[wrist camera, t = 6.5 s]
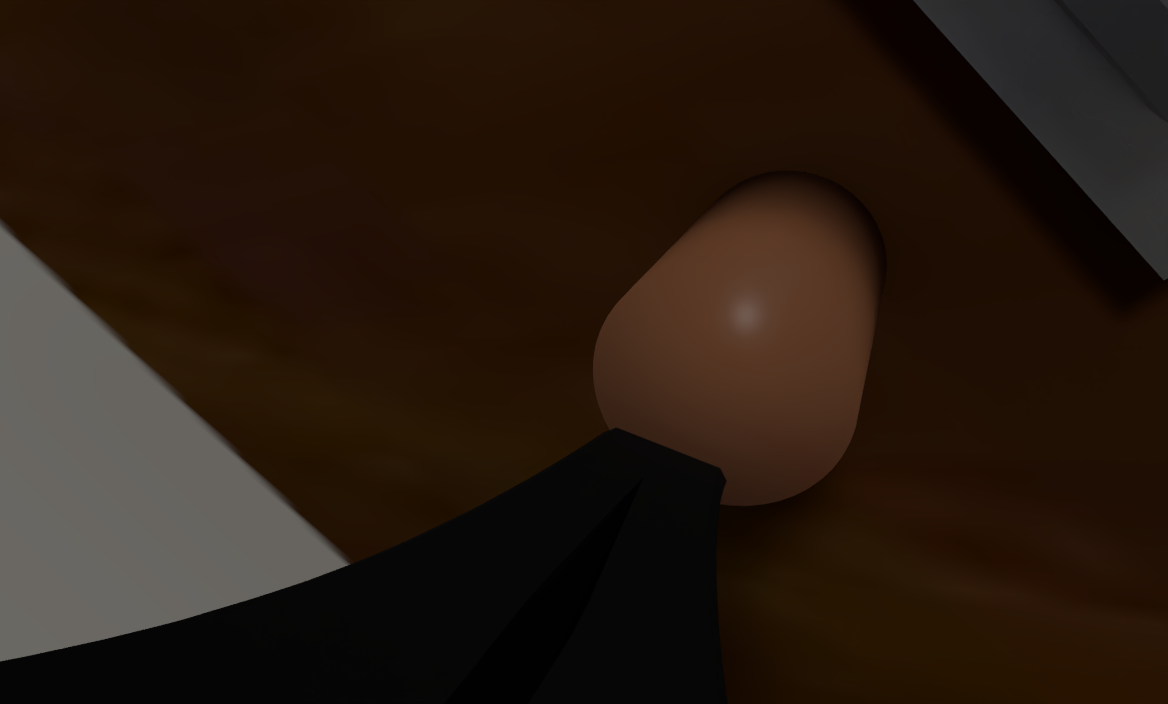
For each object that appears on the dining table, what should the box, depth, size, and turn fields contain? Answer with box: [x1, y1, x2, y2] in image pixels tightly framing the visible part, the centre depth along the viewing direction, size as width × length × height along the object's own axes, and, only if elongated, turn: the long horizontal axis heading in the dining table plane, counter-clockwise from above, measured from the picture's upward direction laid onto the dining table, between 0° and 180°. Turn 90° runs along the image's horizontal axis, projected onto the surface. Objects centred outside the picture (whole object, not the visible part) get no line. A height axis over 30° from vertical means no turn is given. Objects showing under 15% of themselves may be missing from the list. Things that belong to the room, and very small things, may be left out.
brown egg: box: [593, 171, 887, 506], centre depth 15 cm, size 4×4×6 cm
